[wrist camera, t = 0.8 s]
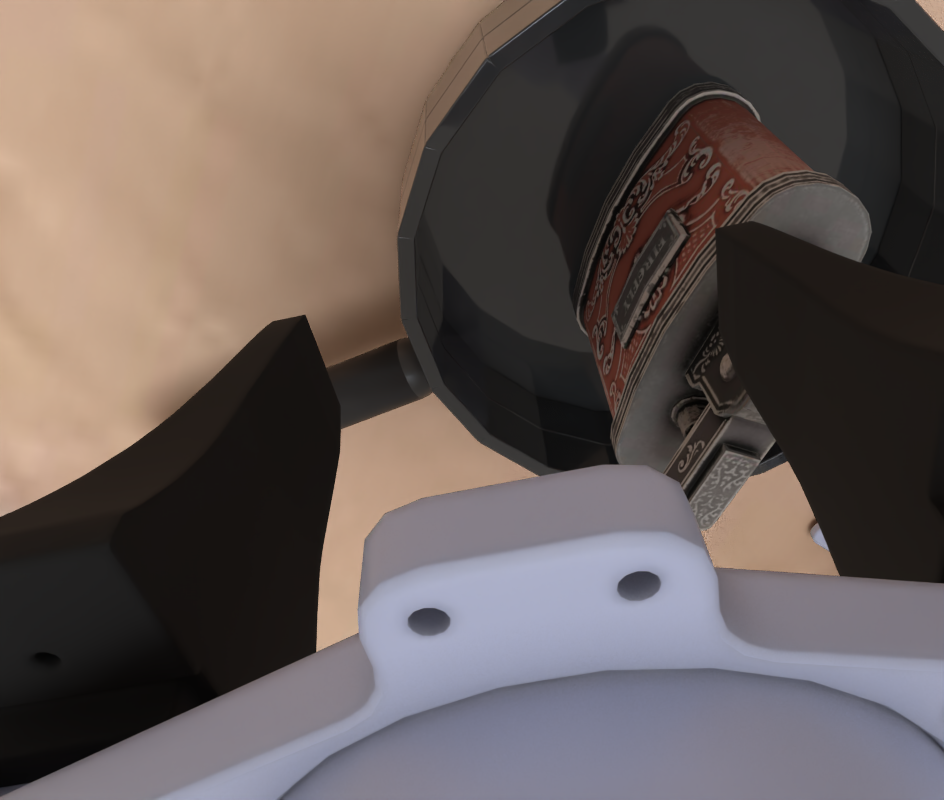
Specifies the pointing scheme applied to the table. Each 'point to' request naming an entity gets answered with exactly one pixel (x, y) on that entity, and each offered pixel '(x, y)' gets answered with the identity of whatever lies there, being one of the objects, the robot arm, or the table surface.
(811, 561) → the table surface
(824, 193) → the lighter
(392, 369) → the pan handle
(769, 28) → the pan
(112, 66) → the table surface
